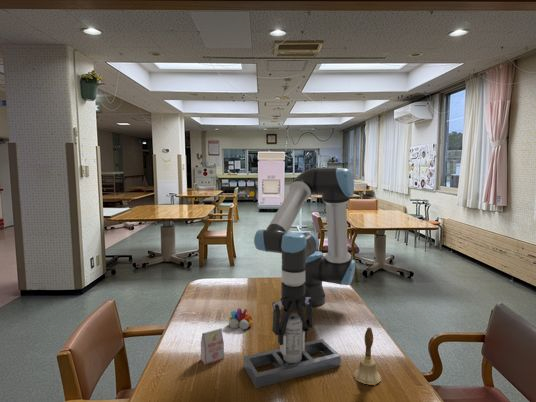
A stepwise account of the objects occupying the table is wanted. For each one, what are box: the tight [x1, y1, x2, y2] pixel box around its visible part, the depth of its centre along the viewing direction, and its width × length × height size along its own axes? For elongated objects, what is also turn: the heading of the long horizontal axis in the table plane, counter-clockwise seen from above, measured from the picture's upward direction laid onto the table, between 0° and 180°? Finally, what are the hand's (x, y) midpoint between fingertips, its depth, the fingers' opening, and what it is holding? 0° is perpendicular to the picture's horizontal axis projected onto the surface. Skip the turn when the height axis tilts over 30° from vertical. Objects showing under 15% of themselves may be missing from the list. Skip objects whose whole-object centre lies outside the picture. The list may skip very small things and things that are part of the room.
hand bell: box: [353, 326, 382, 385], centre depth 106 cm, size 8×8×16 cm
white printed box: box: [200, 328, 225, 366], centre depth 115 cm, size 4×7×10 cm, turn 121°
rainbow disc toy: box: [228, 307, 254, 330], centre depth 139 cm, size 8×10×7 cm
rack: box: [242, 338, 342, 389], centre depth 112 cm, size 30×12×4 cm, turn 113°
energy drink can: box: [283, 312, 302, 365], centre depth 111 cm, size 6×6×15 cm
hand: (292, 350), depth 112 cm, fingers closed on energy drink can, 6 cm apart
